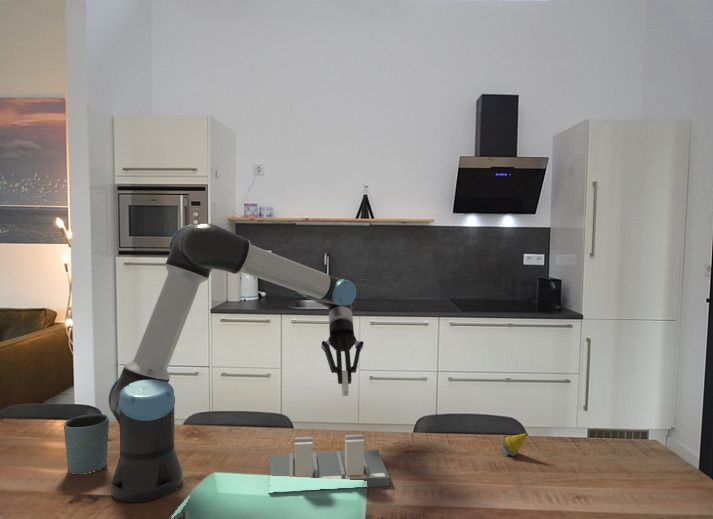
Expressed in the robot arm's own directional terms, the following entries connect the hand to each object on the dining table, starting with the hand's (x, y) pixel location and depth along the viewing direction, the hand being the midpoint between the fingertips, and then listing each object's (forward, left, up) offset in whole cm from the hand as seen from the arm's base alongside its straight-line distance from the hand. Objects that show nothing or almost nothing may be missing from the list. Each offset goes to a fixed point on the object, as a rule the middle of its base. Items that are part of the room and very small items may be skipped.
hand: (345, 393), depth 133 cm
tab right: (0, -19, -13) cm, 23 cm away
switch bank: (-6, -15, -15) cm, 22 cm away
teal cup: (-66, -4, -16) cm, 68 cm away
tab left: (-12, -19, -13) cm, 26 cm away
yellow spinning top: (+45, -10, -16) cm, 49 cm away
